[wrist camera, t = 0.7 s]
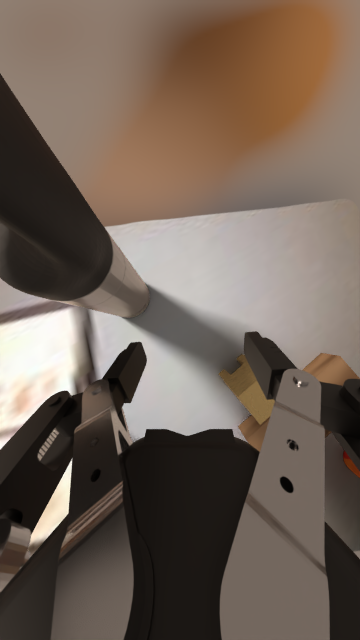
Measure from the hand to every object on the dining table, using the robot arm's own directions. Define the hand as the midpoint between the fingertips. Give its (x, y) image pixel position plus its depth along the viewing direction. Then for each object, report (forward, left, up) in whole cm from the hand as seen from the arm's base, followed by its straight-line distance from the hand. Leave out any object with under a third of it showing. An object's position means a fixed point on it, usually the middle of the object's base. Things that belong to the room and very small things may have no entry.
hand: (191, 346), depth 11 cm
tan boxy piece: (+13, +4, -19) cm, 24 cm away
